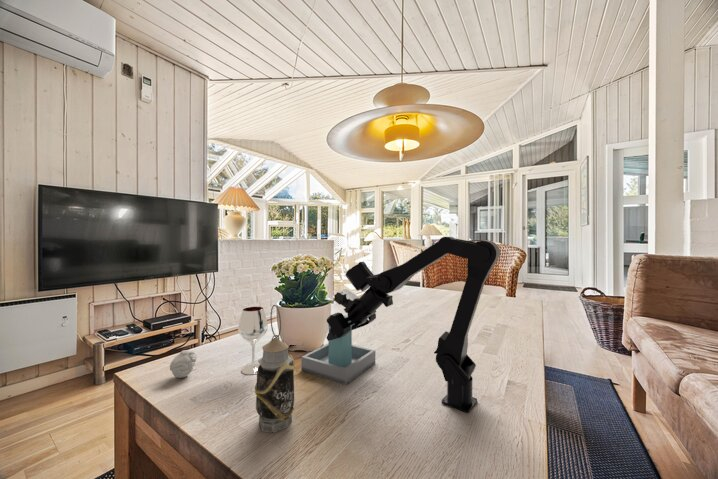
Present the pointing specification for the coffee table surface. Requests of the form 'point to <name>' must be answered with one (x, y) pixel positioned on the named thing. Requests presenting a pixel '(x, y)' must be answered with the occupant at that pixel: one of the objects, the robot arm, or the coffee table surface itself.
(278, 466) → the coffee table surface
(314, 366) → the grey crate
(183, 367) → the grey rounded lump
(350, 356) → the teal square pillar
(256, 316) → the wineglass
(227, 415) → the coffee table surface
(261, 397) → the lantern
